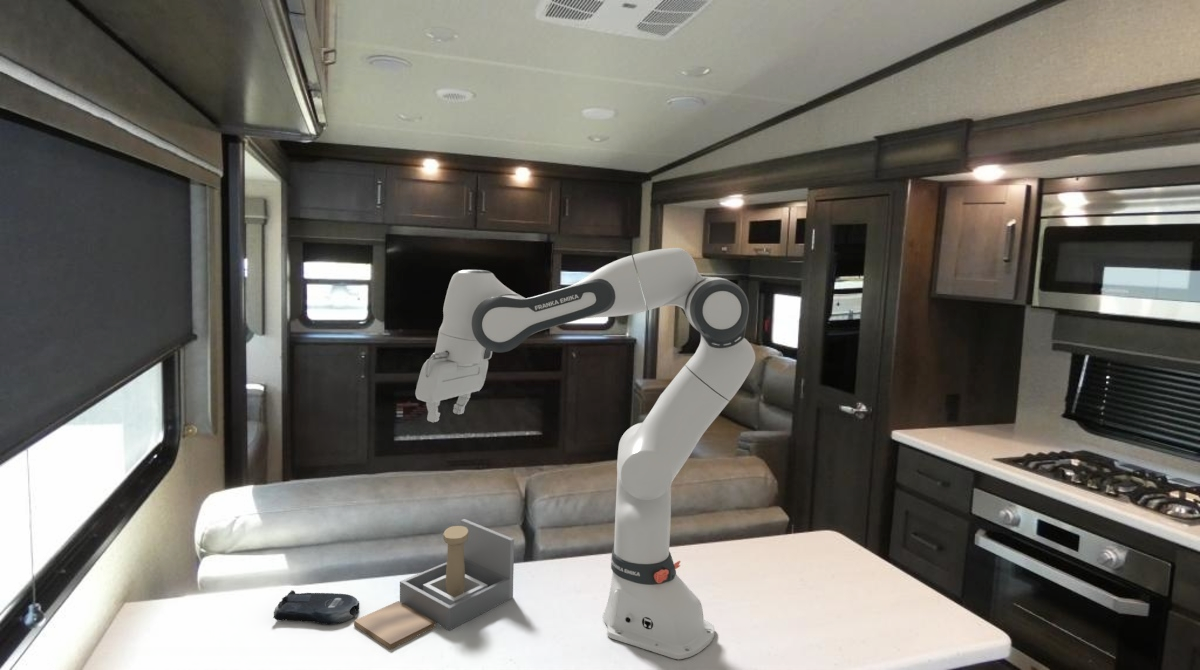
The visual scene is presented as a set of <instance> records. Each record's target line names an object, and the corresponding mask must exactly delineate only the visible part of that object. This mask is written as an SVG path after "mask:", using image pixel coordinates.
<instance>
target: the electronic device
mask: <svg viewBox="0 0 1200 670" xmlns="http://www.w3.org/2000/svg"><path fill="white" fill-rule="evenodd" d="M352 608H354V611H355V613H354V614H353V615H352V614H351V613H350V611H351V609H352ZM359 611H360V601H359V600H358V599H357V598H356V597H355V596H353V595H351V594H349V593H348V594H346V593H332V592H330V593H329V592H304V593H302V592H301V593H296V591H295V590H294V589H292V590H290V591H289V592H288V593H287V595H284V596H283V597H282V598H281V601H279V602H278V604H277V605H276V607H275V608H274V610H273V618H272V619H275V620H276V621H278V620H281V621H289V622H304V623H305V622H307V623H309V622H312V623H313V622H314V623H317V624H321V625H323V624H325V625H328V626H330V625H338V624H342V623H345V622H347V621H349V620H351V619H352V618H354V617H355V618H356V619H357V615H358V613H359Z"/></svg>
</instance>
